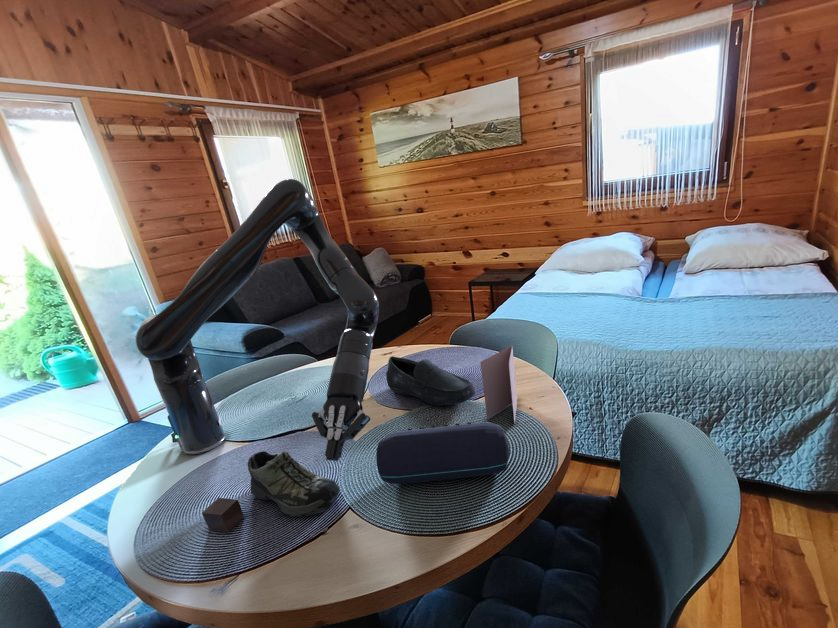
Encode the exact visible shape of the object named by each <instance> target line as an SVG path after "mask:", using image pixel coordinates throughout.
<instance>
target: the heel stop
mask: <svg viewBox="0 0 838 628" xmlns="http://www.w3.org/2000/svg"><path fill="white" fill-rule="evenodd" d="M201 514H202V517H203V519H204V521H205V524H206V526H207V528H208V530H209V531H214V532H222V533H230V532H231V530H233V529H234V528H235V527H236V526H237V525H238V523H240V522H241V521H242V520H243V519H244V517H245V515H244V512H243V510H242V506H241V504H240V502H239V499H237V498H226V497H217V498H216V499H215V500H214V501H213V502H212V503H210V505H209V506H207V507H206V508H205V509H204V510H203V511H202V512H201Z"/></svg>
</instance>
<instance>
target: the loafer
mask: <svg viewBox="0 0 838 628" xmlns="http://www.w3.org/2000/svg"><path fill="white" fill-rule="evenodd" d="M385 376H386V377H385V378H386V382H387V387H388V388H389V389H390V390H391V391H392V392H393V393H396V394H398V395H403V396H413V397H416V398H418V399H420V400H421V401H424V402H426V403H427V404H429V405H434V406H454V405H457V404H461V403H464V402H466V401H468V400H469V399H471V398H472V397H474V396H475V395H476V388H475V385H474V383H473V382H471V381H470V380H468V379H466V378H464V377H462V376H459V375H456V374H454V373H452V372H449V371H447V370H445V369H443V368H441V367H439V366H437V365H436V364H434V363H433V362H432V361H431V360H430V359H429V358H423V359H421V360H420V361H416V360H413V359H409V358H404V357H397V356H393V355H392V356H390V357H389V358H388V360H387V370H386V371H385Z"/></svg>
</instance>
